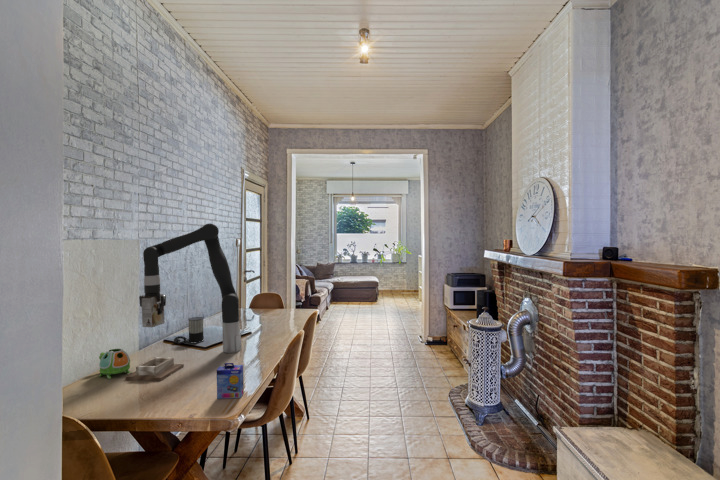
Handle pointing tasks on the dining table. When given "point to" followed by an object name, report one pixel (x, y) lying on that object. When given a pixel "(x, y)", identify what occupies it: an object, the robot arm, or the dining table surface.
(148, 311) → the coffee box
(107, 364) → the turtle holder
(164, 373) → the frame
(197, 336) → the milk frother
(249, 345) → the dining table surface
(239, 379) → the ink cartridge box
